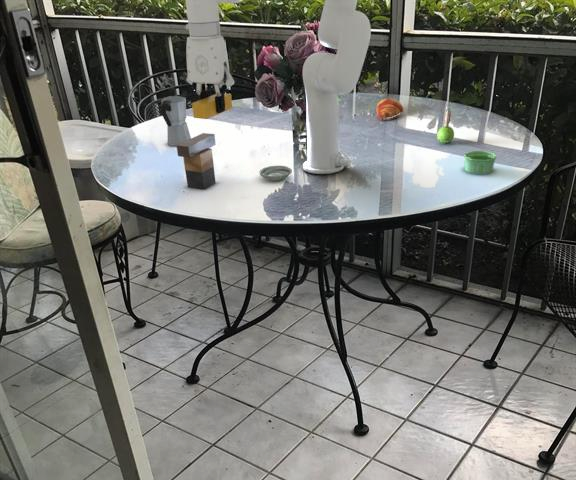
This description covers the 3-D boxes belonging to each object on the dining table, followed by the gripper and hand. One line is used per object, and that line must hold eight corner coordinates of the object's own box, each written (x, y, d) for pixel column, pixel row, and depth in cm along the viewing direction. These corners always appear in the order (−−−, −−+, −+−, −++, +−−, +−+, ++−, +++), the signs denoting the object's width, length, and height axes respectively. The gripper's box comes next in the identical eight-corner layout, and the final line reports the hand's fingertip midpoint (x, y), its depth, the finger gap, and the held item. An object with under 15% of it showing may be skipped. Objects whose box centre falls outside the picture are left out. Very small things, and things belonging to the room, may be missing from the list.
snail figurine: (435, 146, 201) (439, 107, 194) (436, 140, 206) (440, 102, 199) (452, 146, 200) (457, 107, 193) (453, 141, 205) (457, 102, 197)
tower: (215, 183, 181) (211, 148, 175) (204, 189, 177) (199, 154, 171) (199, 180, 183) (194, 146, 177) (187, 187, 179) (182, 152, 173)
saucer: (253, 179, 182) (252, 171, 181) (276, 171, 187) (276, 163, 186) (275, 186, 177) (275, 178, 175) (298, 177, 182) (298, 169, 180)
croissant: (388, 118, 245) (379, 99, 242) (411, 106, 239) (403, 86, 236) (374, 131, 229) (365, 110, 226) (398, 119, 223) (390, 97, 220)
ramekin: (481, 163, 185) (484, 148, 182) (500, 172, 178) (502, 156, 175) (456, 168, 182) (458, 153, 180) (474, 177, 175) (476, 161, 173)
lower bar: (204, 143, 180) (203, 132, 178) (215, 144, 178) (214, 134, 176) (178, 156, 171) (176, 145, 169) (189, 157, 169) (188, 146, 167)
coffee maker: (177, 137, 223) (169, 83, 212) (198, 138, 221) (191, 84, 210) (157, 149, 212) (147, 93, 201) (179, 150, 209) (171, 94, 199)
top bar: (206, 119, 153) (205, 104, 151) (193, 117, 155) (191, 103, 153) (232, 108, 161) (231, 93, 159) (219, 107, 163) (218, 93, 161)
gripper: (167, 31, 148) (178, 112, 159) (225, 33, 141) (232, 117, 152) (185, 27, 153) (195, 105, 164) (242, 28, 146) (248, 110, 157)
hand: (213, 110), depth 158 cm, fingers closed on top bar, 4 cm apart
